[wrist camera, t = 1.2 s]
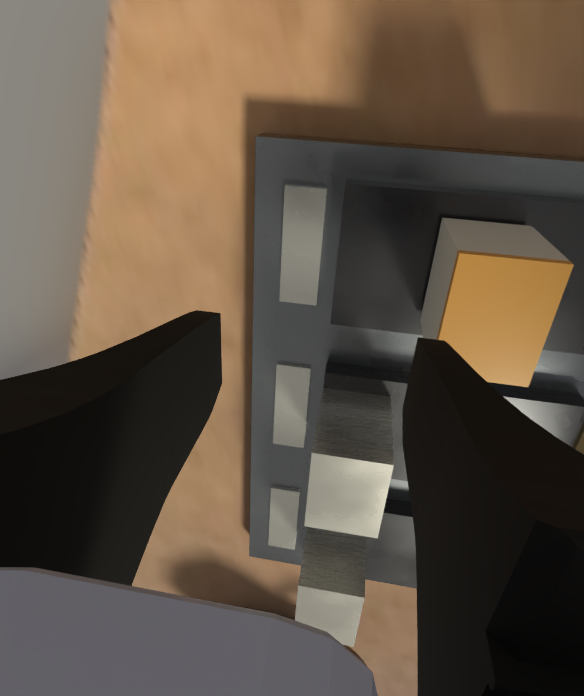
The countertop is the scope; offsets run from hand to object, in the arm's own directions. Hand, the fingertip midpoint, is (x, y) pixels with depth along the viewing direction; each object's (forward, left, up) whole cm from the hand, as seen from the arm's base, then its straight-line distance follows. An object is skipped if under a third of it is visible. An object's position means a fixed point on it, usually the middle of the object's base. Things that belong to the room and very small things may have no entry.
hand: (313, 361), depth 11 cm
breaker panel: (-6, +8, -10) cm, 14 cm away
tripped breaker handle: (-5, 0, -7) cm, 9 cm away
